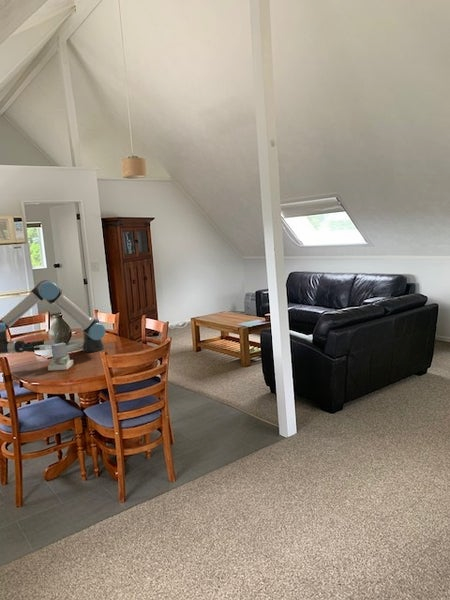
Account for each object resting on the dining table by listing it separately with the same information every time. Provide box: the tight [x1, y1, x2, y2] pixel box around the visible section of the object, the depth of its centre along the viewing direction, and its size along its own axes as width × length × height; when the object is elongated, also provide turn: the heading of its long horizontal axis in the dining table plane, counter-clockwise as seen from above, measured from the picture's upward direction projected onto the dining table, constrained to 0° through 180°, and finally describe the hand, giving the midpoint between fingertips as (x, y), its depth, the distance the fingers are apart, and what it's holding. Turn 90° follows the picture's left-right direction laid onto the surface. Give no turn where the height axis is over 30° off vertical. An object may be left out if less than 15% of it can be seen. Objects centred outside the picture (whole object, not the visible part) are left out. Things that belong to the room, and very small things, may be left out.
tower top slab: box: [49, 354, 71, 366], centre depth 290 cm, size 10×10×4 cm
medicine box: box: [50, 342, 68, 359], centre depth 289 cm, size 8×4×9 cm, turn 138°
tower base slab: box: [47, 359, 74, 371], centre depth 291 cm, size 12×12×4 cm
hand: (49, 345), depth 288 cm, fingers open, 13 cm apart
